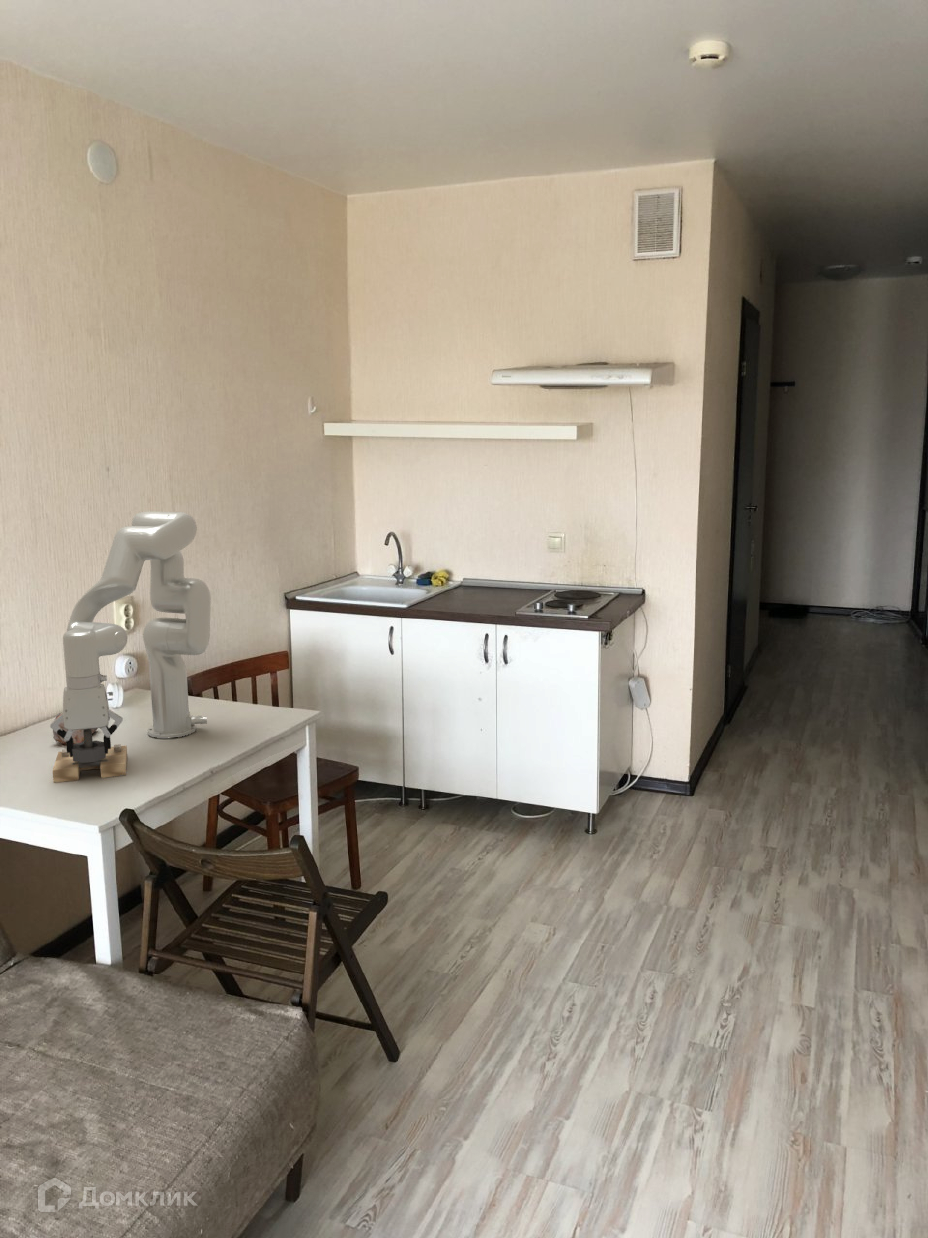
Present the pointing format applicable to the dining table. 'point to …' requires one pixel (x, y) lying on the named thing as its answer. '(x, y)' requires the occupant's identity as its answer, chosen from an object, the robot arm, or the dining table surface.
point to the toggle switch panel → (109, 765)
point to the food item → (76, 735)
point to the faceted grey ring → (88, 752)
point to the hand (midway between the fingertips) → (89, 753)
